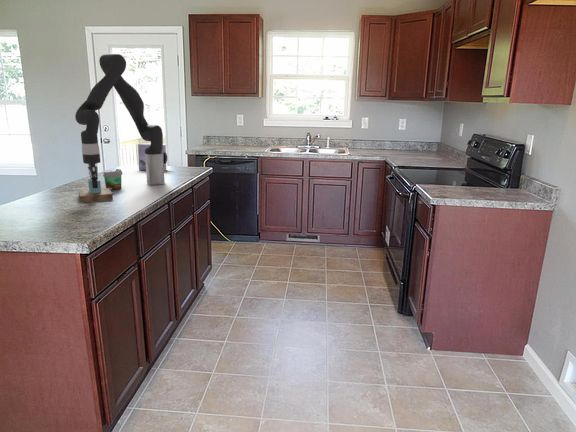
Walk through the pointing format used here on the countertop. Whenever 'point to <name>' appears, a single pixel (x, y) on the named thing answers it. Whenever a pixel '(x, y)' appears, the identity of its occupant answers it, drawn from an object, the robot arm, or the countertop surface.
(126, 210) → the countertop surface
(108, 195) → the walnut base
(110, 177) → the food container
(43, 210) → the countertop surface
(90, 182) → the teal block
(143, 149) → the cake pan box
